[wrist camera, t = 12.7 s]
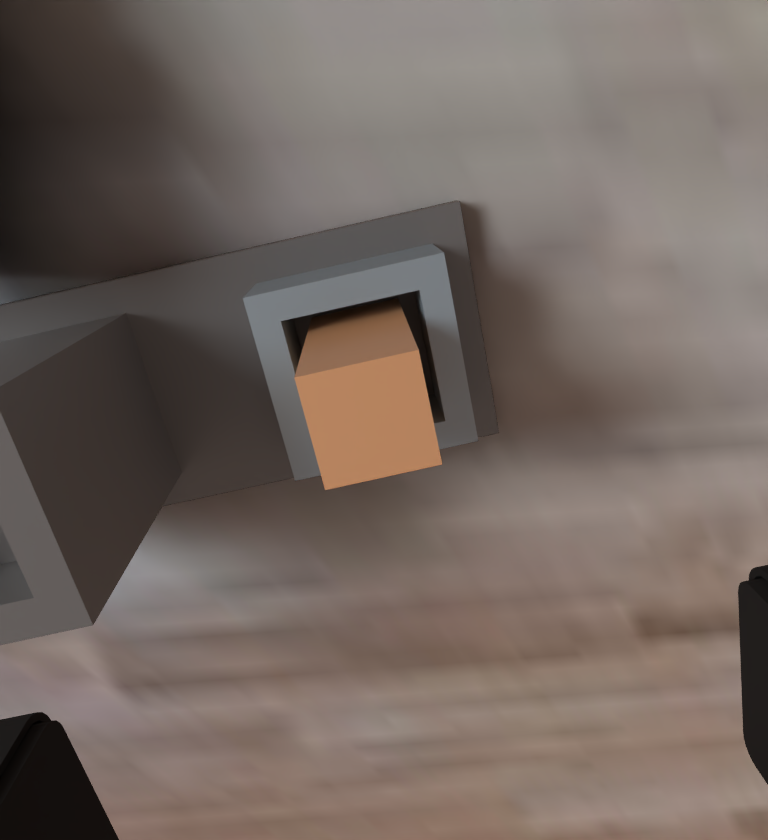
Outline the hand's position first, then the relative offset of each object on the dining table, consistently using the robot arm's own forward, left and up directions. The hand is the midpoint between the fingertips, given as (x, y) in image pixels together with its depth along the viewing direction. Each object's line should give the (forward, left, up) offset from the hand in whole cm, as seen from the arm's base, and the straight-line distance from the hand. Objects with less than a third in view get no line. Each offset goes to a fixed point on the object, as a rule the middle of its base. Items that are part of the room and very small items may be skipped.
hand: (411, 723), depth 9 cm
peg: (0, 0, -23) cm, 23 cm away
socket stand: (+7, 0, -24) cm, 25 cm away
